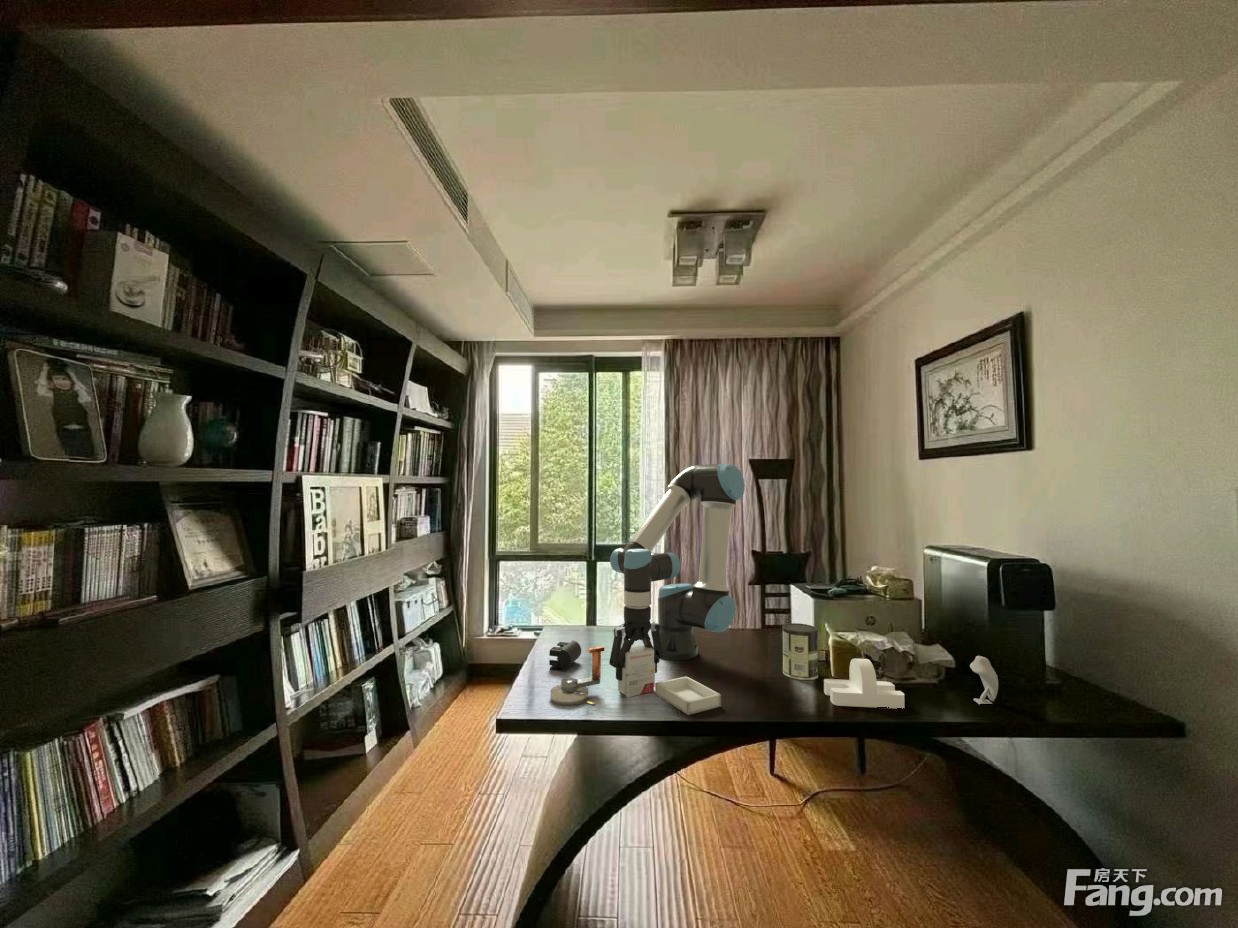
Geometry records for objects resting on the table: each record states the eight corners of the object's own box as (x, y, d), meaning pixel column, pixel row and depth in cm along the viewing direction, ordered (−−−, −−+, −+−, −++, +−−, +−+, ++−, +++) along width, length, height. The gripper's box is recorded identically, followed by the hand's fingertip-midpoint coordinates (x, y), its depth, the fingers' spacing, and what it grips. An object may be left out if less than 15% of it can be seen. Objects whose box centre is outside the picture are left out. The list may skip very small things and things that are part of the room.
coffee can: (809, 667, 161) (808, 622, 162) (824, 680, 151) (824, 631, 152) (777, 668, 161) (777, 622, 161) (790, 680, 151) (790, 632, 151)
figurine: (1004, 709, 132) (1003, 662, 133) (981, 707, 133) (980, 660, 134) (988, 697, 140) (987, 652, 140) (966, 696, 140) (965, 651, 141)
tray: (686, 686, 145) (686, 676, 145) (721, 706, 132) (721, 694, 133) (655, 694, 140) (655, 682, 140) (688, 714, 127) (688, 702, 127)
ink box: (646, 686, 145) (646, 643, 146) (654, 692, 141) (655, 648, 141) (618, 691, 142) (618, 647, 142) (626, 698, 137) (627, 653, 138)
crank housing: (578, 688, 143) (578, 680, 144) (598, 704, 133) (598, 696, 133) (544, 694, 139) (544, 687, 139) (562, 712, 128) (562, 704, 128)
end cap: (570, 673, 155) (570, 650, 156) (548, 670, 157) (548, 648, 157) (581, 662, 165) (581, 640, 165) (560, 659, 167) (561, 638, 167)
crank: (565, 692, 134) (565, 655, 134) (558, 687, 138) (559, 651, 138) (607, 684, 140) (607, 648, 140) (599, 678, 144) (599, 644, 144)
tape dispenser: (906, 709, 132) (905, 667, 133) (833, 706, 134) (833, 664, 134) (890, 694, 142) (889, 655, 142) (822, 691, 143) (822, 652, 144)
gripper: (661, 599, 151) (661, 677, 150) (596, 606, 140) (595, 690, 139) (676, 604, 144) (676, 685, 143) (609, 612, 134) (608, 701, 133)
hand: (636, 688), depth 141 cm, fingers closed on ink box, 9 cm apart
